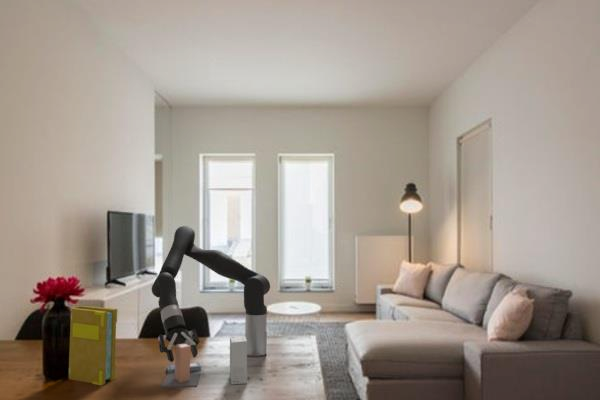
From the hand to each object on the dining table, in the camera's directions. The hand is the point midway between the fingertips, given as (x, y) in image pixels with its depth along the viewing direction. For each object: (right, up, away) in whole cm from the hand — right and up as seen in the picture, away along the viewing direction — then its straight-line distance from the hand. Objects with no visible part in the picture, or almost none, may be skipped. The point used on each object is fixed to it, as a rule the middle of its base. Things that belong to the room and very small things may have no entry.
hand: (183, 358), depth 154 cm
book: (-34, -8, +1) cm, 35 cm away
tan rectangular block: (-1, -8, +1) cm, 8 cm away
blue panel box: (-3, -8, +11) cm, 14 cm away
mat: (-1, -8, +1) cm, 8 cm away
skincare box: (+19, -9, +2) cm, 21 cm away
